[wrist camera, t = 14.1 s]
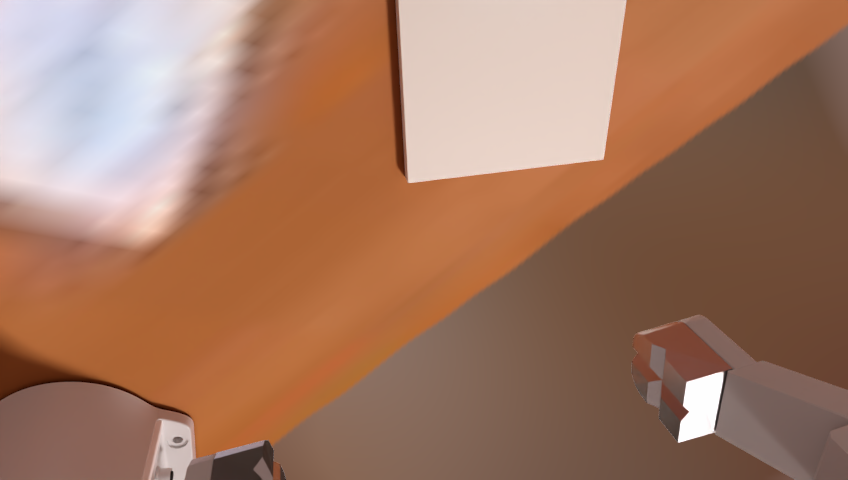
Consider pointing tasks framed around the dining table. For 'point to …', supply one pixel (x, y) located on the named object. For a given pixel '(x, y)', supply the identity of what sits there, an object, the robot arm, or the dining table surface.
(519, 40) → the wall panel
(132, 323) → the dining table surface
